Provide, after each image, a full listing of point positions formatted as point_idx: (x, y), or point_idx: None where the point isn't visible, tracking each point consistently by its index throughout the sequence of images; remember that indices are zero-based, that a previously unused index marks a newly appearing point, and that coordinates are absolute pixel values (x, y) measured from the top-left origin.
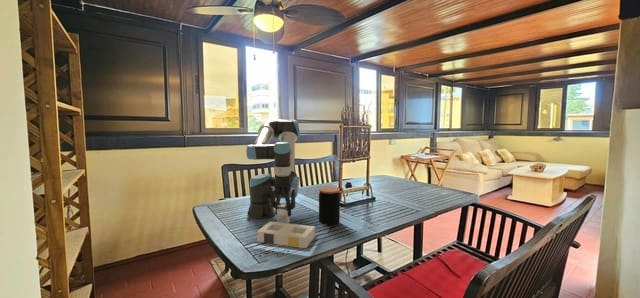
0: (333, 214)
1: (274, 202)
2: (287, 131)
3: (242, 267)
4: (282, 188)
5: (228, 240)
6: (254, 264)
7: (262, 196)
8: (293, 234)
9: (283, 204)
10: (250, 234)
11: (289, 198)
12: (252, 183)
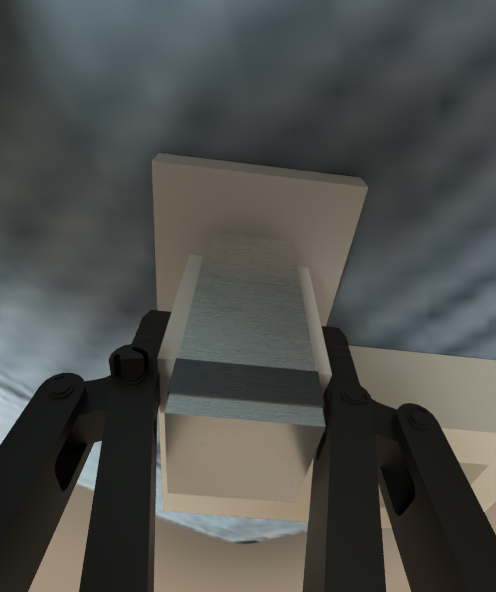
0: None
1: (48, 441)
2: None
3: (213, 531)
4: None
5: (3, 418)
6: (243, 521)
7: None
8: (389, 520)
9: (246, 467)
10: (57, 351)
11: (381, 588)
12: None
